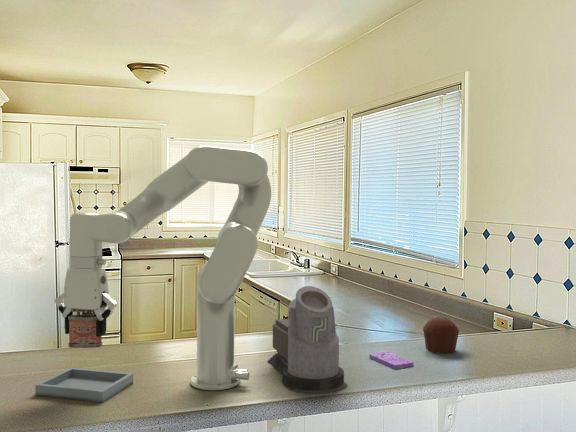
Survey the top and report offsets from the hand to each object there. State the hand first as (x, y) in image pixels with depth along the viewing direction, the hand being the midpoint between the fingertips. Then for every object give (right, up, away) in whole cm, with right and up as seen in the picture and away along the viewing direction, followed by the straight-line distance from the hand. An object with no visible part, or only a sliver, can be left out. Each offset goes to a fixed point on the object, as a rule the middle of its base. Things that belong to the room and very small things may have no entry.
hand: (85, 333), depth 139 cm
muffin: (+98, -14, +40) cm, 107 cm away
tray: (0, -14, +1) cm, 14 cm away
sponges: (+80, -15, +27) cm, 86 cm away
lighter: (0, -3, 0) cm, 3 cm away
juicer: (+54, -14, +13) cm, 58 cm away
